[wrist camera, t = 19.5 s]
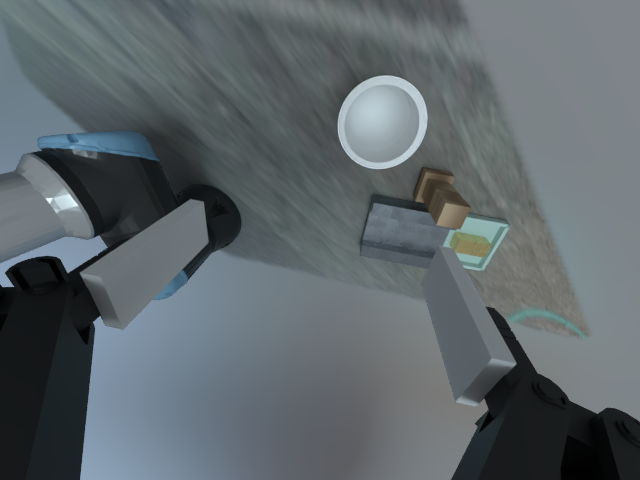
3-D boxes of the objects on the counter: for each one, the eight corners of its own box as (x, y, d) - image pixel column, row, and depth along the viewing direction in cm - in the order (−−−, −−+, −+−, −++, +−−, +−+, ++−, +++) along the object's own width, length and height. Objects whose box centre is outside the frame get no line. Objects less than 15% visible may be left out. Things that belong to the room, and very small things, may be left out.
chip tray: (432, 256, 56) (434, 262, 54) (453, 210, 50) (457, 215, 48) (479, 265, 55) (482, 271, 54) (505, 220, 49) (511, 225, 48)
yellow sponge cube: (469, 254, 50) (484, 257, 50) (476, 242, 49) (491, 245, 49) (463, 246, 53) (478, 249, 53) (470, 234, 51) (485, 237, 51)
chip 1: (449, 244, 53) (453, 251, 50) (455, 231, 51) (460, 239, 49) (463, 246, 53) (469, 254, 50) (470, 234, 51) (476, 242, 49)
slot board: (360, 244, 57) (359, 255, 53) (373, 194, 50) (374, 202, 47) (432, 258, 56) (437, 270, 52) (454, 209, 50) (461, 218, 46)
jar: (420, 92, 41) (446, 96, 28) (390, 154, 46) (400, 181, 33) (358, 67, 40) (356, 59, 27) (335, 133, 46) (325, 152, 33)
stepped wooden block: (412, 195, 49) (428, 230, 38) (422, 167, 46) (442, 195, 35) (438, 199, 49) (462, 236, 37) (450, 171, 46) (480, 201, 34)
